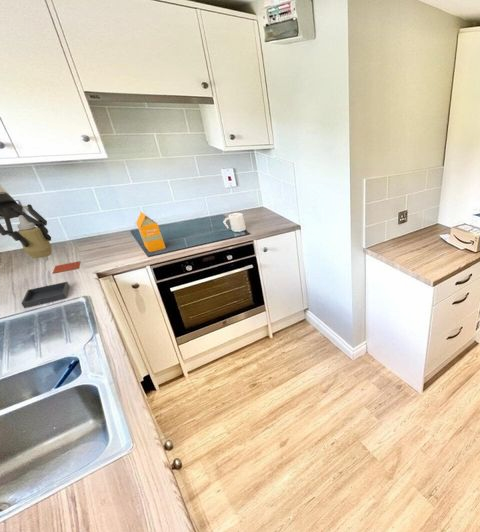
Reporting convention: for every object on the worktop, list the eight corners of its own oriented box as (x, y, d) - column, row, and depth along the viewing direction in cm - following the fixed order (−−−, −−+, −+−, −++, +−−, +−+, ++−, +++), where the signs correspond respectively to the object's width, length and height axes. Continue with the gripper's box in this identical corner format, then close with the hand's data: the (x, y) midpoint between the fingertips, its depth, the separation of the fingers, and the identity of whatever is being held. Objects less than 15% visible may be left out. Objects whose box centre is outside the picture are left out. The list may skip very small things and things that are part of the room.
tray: (24, 308, 126) (21, 303, 125) (30, 294, 135) (27, 289, 134) (66, 298, 133) (63, 293, 132) (69, 286, 142) (67, 281, 141)
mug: (244, 226, 212) (241, 212, 208) (246, 230, 206) (243, 215, 201) (224, 229, 207) (221, 214, 202) (226, 233, 200) (222, 218, 196)
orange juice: (161, 243, 184) (149, 210, 175) (166, 248, 179) (154, 213, 170) (144, 247, 179) (132, 213, 170) (149, 252, 174) (136, 217, 165)
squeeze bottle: (35, 261, 133) (12, 220, 125) (24, 257, 135) (0, 217, 127) (59, 253, 140) (39, 214, 131) (48, 250, 142) (27, 211, 134)
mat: (52, 273, 151) (52, 273, 151) (55, 266, 157) (55, 265, 157) (78, 268, 156) (78, 268, 156) (80, 261, 162) (79, 261, 162)
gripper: (29, 198, 141) (67, 238, 143) (-38, 210, 125) (6, 255, 127) (29, 187, 137) (68, 229, 139) (-40, 198, 121) (5, 246, 123)
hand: (38, 242), depth 133 cm, fingers closed on squeeze bottle, 6 cm apart
